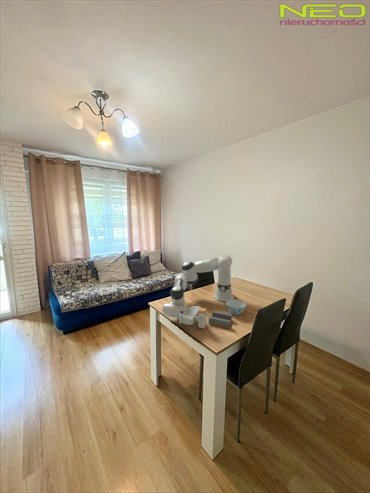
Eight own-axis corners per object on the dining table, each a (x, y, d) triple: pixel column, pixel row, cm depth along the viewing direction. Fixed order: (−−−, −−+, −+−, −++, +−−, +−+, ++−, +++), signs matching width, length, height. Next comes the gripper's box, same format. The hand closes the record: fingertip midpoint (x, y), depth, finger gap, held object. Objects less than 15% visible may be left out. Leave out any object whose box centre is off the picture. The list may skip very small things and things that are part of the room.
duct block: (212, 316, 150) (213, 310, 149) (231, 320, 145) (232, 314, 144) (208, 324, 139) (208, 318, 138) (228, 328, 133) (229, 322, 133)
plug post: (200, 324, 137) (200, 307, 135) (205, 325, 135) (206, 308, 133) (198, 327, 133) (198, 310, 131) (204, 328, 131) (204, 311, 130)
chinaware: (236, 319, 145) (237, 309, 144) (221, 311, 157) (222, 302, 156) (249, 314, 154) (250, 304, 152) (234, 307, 166) (234, 298, 164)
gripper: (189, 310, 148) (207, 314, 143) (178, 324, 129) (198, 329, 124) (189, 302, 147) (207, 305, 142) (178, 315, 128) (199, 319, 123)
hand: (203, 316), depth 133 cm, fingers closed on plug post, 4 cm apart
